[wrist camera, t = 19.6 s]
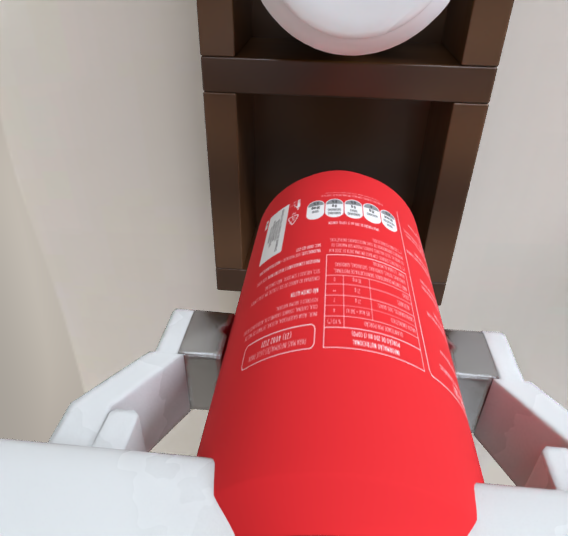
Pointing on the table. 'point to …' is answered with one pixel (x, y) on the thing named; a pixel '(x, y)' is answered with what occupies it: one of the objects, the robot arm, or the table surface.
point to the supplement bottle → (354, 22)
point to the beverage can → (340, 377)
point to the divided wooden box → (344, 119)
